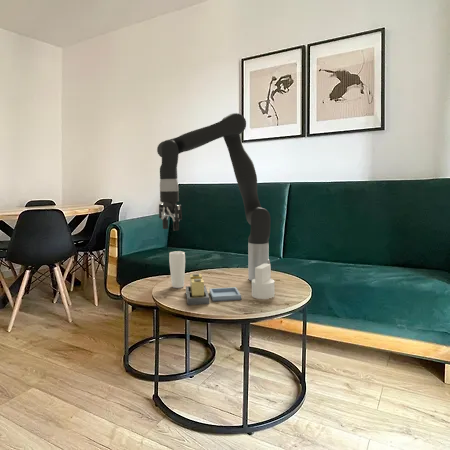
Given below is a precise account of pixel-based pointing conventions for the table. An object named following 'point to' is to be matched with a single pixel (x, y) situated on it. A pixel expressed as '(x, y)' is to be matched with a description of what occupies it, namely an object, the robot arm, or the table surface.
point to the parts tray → (225, 294)
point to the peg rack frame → (197, 300)
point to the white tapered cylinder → (177, 268)
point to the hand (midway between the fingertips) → (170, 229)
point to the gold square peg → (197, 288)
